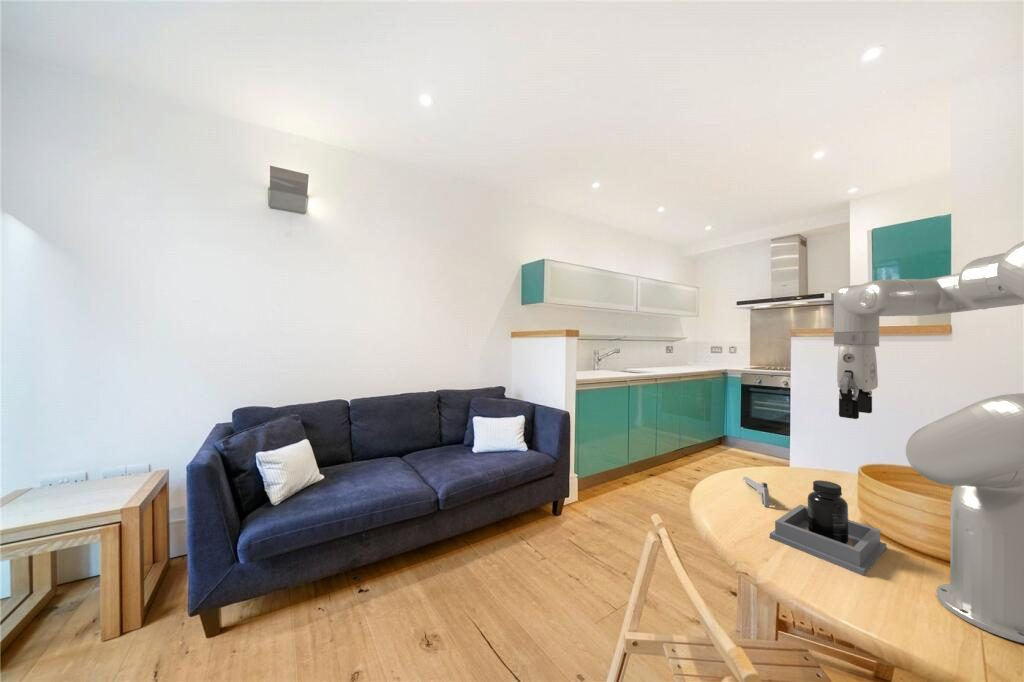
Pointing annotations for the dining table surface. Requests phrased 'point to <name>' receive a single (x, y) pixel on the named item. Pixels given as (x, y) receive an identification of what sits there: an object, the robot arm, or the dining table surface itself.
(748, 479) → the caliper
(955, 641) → the dining table surface
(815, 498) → the supplement bottle
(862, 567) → the housing
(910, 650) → the dining table surface
